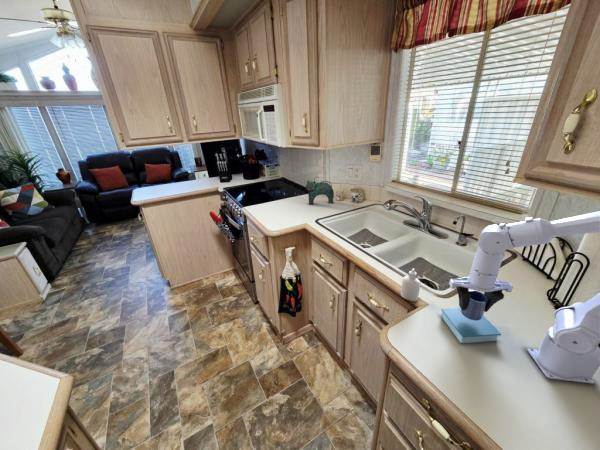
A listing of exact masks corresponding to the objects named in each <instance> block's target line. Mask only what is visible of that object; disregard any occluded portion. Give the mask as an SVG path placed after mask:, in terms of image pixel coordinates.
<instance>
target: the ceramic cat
mask: <svg viewBox="0 0 600 450" xmlns="http://www.w3.org/2000/svg"><path fill="white" fill-rule="evenodd" d="M316 178H318V179H320V177H319V176H315V177H314V178H313V180H307V181H306V184H305V188H306V190H307V191H308V197H307V198H308V205H312V206H313V205H314V202H315V199H316V197H317V196H320V195H321V196H326V197H327V202H328V204H333V203H334V197H335V192H334V189H333V184H332V183H331V182H330V181H329V180H322V181H320V182H316Z"/></svg>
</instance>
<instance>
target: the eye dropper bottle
mask: <svg viewBox="0 0 600 450" xmlns="http://www.w3.org/2000/svg"><path fill="white" fill-rule="evenodd" d="M417 275H418V273H417V271H415V268H412V269H411V270H409V271H408V275H405V276H403V277H402V281H401V287H400V297H401V298H403V299H404V300H407V301H410V302H418V299H419V295H420V289H421V281H420V280H419V278H417Z"/></svg>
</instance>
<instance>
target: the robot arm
mask: <svg viewBox="0 0 600 450" xmlns="http://www.w3.org/2000/svg"><path fill="white" fill-rule="evenodd" d="M593 233H594V234H595V233H600V210H598V211H593V212H589V213H588V212H587V213H584V214H579V215H575V216H571V217H565V218H561V219H560V218H559V219H557V220H547V219H545V218H542V217H538V218H534V217H533V216H529V217H525V219H524V220H522V221H518V222H512V223H505V222H501V223H499V225H498V224H490V225H487V226H485V228H483V229H482V230H481V232H480V235H479V237H478V239H477V249H476V250H475V253H474V256H473V259H472V260H473V261H472V264H471V268H470V271H469V274H468V275H469V276H464V277H463V276H462V277H457V278H449V283H448V285H449V287H450V288H451V290H453V289H456V291H457V297H458V306H459V308H461V310H465V308H466V305H467V302H468V300H469V298H470V297H471V294H470V293H469V290H475V291H479V292H481V293H483V294H484V295H486V296H487V298H488V302H487V305H486V308H485V311H484V313H486V312H488V311H489V310H490V309H491V308H492V307H493V306H494V305H495V304H496V303H498V302H499V301H501V300H504V298H505V294H504V293H503V291H505V292H506V293H512V292H513V289H514V286H513V285H512V283H511V282H509V281H503V280H499V279H497V278H498V275H499V272H500V268H501V266H502V262H503V260H504V253H505V252H506V251H507V250H508V249H516V248H522V247H531V246H537V245H544V244H545V245H546V244H549V243H551V242H552V241H553V240H554V239H555V238H556V237H565V236H574V235H583V234H593ZM554 319H555V322H554V323H555V324H554V325H552V326H551V327H549V328H548V329H547V332H546V334H545V336H544V338H543V339H542V342H541V344H540V346H539V348H538V349H537V348H536V349H535V348H527V352H528V354H529V355H530V357H531V358H532V359H533V360H534V362H535V364H536V365H537V366H538V368H539V369H540V370H541V372H542V373H543V374H544V376H545V377H546V378H547V379H551V380H560V381H567V382H568V381H570V382H576V383H585V384H595V380H594V379H593V377H594V376H595V374H596V372H597V371H598V370H599V368H600V346H599V344H600V292H598V293H597V294H595V295H594V296H593V297H591V298H589V299H588V300H587V301H585V302H583V301H576V302H575V303H573V304H571V305H567V306H563V307H562V306H561V307H560V308H558V309H556V310H555V312H554Z"/></svg>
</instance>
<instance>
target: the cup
mask: <svg viewBox="0 0 600 450" xmlns="http://www.w3.org/2000/svg"><path fill="white" fill-rule="evenodd" d="M468 290H469V293H470V294H471V297H470V298H469V300H468V302H467V305H466V308H465V310H461V313H462V314H463V315H464V316H465V317H466V318H468V319H471V320H476V321H477V320H481V319H482V317H483V315H484V313H485V312H484V311H485V308H486V305H487V302H488V298H487V296H486V295H484V292H482V291H477V290H473V289H468Z"/></svg>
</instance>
